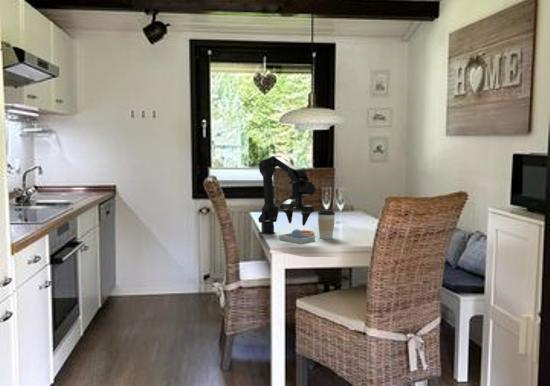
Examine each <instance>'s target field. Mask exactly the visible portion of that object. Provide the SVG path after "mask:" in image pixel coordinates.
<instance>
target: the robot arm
mask: <svg viewBox="0 0 550 386" xmlns="http://www.w3.org/2000/svg"><path fill="white" fill-rule="evenodd" d="M277 167H279V168H280V169H281V170H282V171H284V172H285V173H287V177H288V178H289V179H290V181H289V182H288V185H291V195H289V196H288V197H289V198H288V199H286V200H285V201H283V202H282V203H280V206H279V207H278V206H277V205H276V204H275V201H274V200H275V199H274V186H273V185H274V184H273V175H274V174H275V172H276V168H277ZM258 168H259V173H260V174H261V176H262V181H263V183H262V184H263V199H264V205H263V206H262V208H261V214H260V215H259V217H258V218H257V219H258V223H261V230H260V231H259V234H261V235H274V234H276V232H275V224H274V223H277V220H278V217H279V209H280V210H281V211H282V212H284V213H285V215H286V218H287V221H288V223H289V224H292V221H293V220H292V219H293V214H294V210H300V211H301V212H300V214H301V216H302V218H301V219H302V221H301V222H302V223H301V224H302V226H303V227H304V226H305V225H306V223H307V221H308V219H309V217H310V216H311V214H312V213H313V212H315V206H314V205H309V204H307V205H305V203H304V202H303V201H304V200H303V199H304V198H305V196H313V195H314V194H315V191H316V186H315V184H313V181H312V180H311V181H310V180H309V177H308V176H307V175H308V174H307V173H306V170H305V169H304V168H303V167H299V166H296V165H295V166H294V165H293V164H291V163H289V162H288V161H287V160H285V159H283V158H282V156H280V155H272V156H270V157H268V158H266V159H261V160H260V161H259V163H258Z"/></svg>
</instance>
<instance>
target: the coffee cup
mask: <svg viewBox="0 0 550 386" xmlns="http://www.w3.org/2000/svg"><path fill="white" fill-rule="evenodd" d="M317 217H318V218H317V221H318V223H317V225H318V235H319V239H322V240H331V239H333V236H334V230H335V229H334V228H335V217H336V213H335V211H334V210H333V209H329V208H323V209H322V208H320V209H319V211H317Z"/></svg>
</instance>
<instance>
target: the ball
mask: <svg viewBox="0 0 550 386" xmlns="http://www.w3.org/2000/svg"><path fill="white" fill-rule="evenodd" d="M300 230H301V229H298V228H296V229H293V230H292V231H291V232H290V233H291V236H292V237H293V238H298V239H301V238H302V232H301V231H300Z"/></svg>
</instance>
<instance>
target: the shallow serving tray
mask: <svg viewBox="0 0 550 386" xmlns="http://www.w3.org/2000/svg"><path fill="white" fill-rule="evenodd" d="M291 233H292V232H290V233H284V234H278V240H279V239H280V241H285V242H291V243H295V244H296V243H297V244H300V245H301V244H305V243H311V242H315V241H316V236H315V235H314V236H309V235H303V234H302V238H301V239H298V238H293V237H292V236H291Z"/></svg>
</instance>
